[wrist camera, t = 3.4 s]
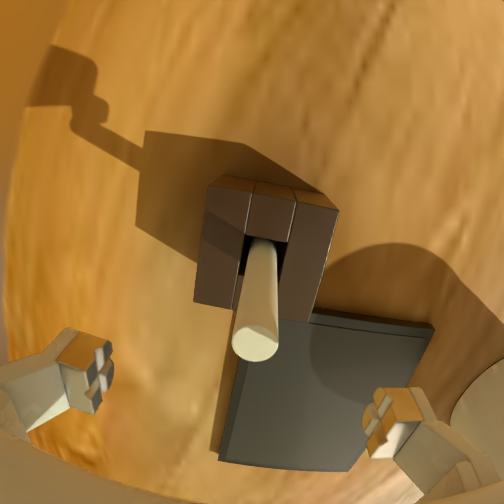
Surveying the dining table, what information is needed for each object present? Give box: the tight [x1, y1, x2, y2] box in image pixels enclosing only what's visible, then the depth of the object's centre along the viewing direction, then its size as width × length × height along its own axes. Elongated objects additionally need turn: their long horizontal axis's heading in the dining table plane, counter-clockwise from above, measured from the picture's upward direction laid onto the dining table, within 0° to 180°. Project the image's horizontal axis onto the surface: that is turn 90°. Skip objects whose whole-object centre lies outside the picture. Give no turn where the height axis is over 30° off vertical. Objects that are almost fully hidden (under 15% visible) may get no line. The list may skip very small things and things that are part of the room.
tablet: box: [218, 307, 435, 472], centre depth 28 cm, size 16×22×1 cm
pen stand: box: [193, 175, 339, 323], centre depth 21 cm, size 7×7×5 cm
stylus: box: [231, 236, 278, 362], centre depth 17 cm, size 2×2×13 cm
